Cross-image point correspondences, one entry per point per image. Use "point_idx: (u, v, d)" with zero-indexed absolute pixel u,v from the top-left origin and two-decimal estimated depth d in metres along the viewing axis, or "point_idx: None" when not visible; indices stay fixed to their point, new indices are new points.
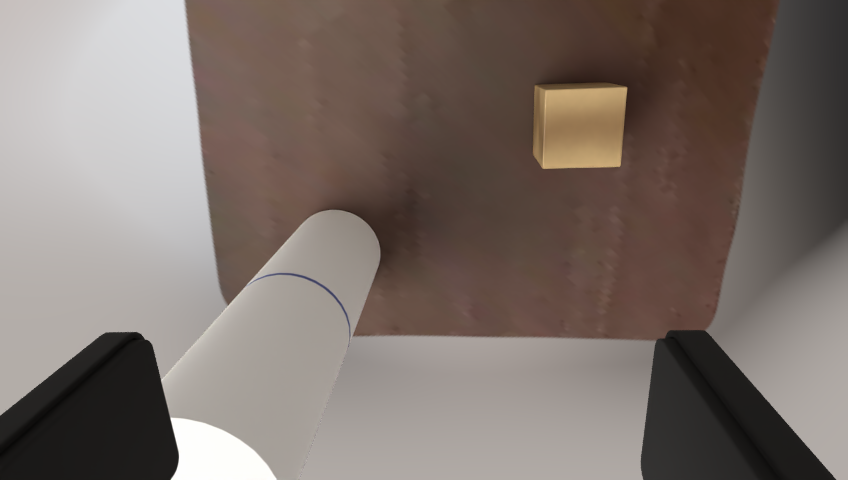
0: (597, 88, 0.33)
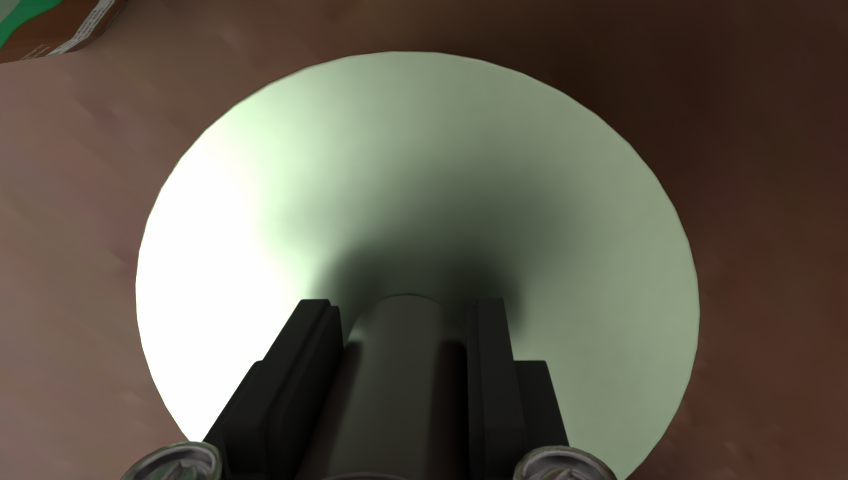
0: None
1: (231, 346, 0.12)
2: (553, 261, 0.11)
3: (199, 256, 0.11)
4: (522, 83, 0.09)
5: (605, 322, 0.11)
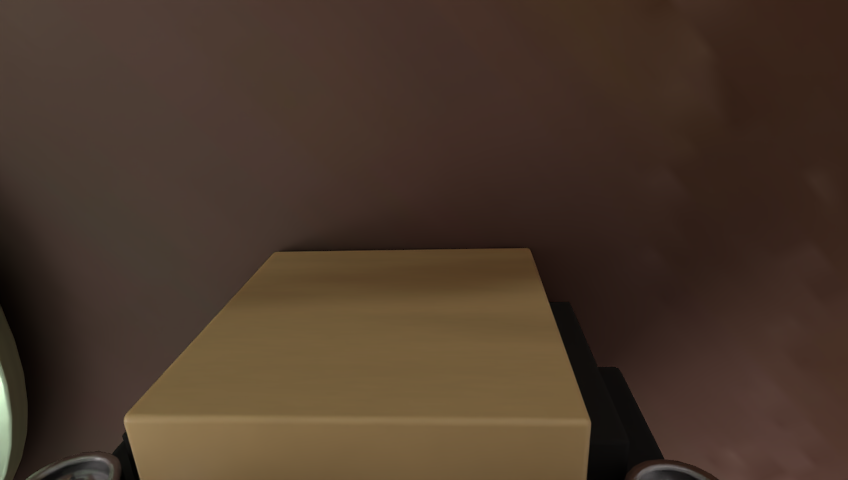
0: (416, 417, 0.06)
1: None
2: None
3: None
4: None
5: None
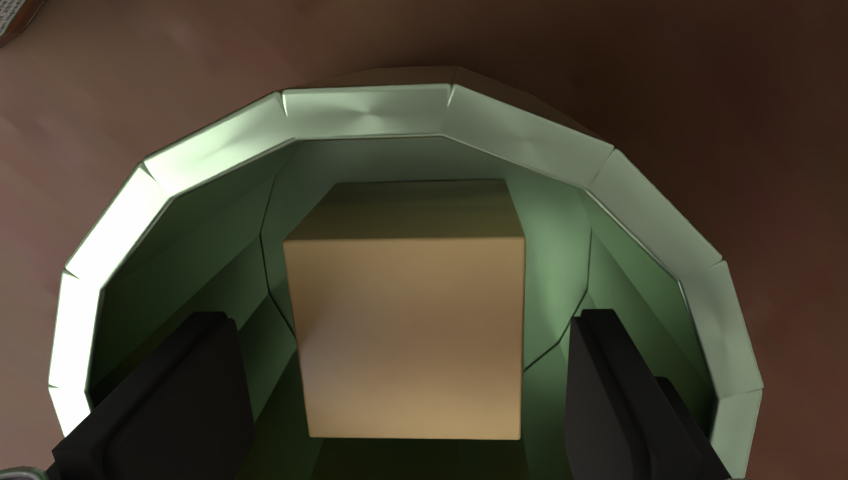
0: (437, 238, 0.11)
1: None
2: None
3: None
4: None
5: None
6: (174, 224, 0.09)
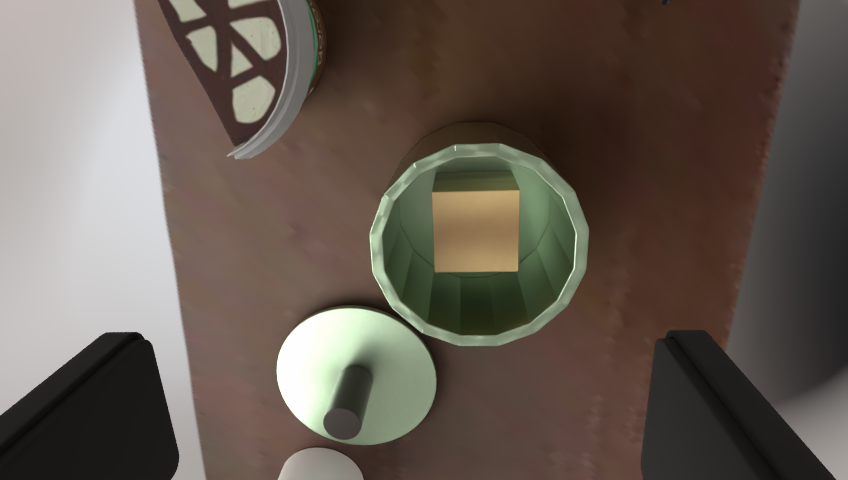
0: (488, 190, 0.30)
1: (304, 379, 0.40)
2: (394, 357, 0.39)
3: (296, 355, 0.39)
4: (381, 315, 0.38)
5: (410, 373, 0.39)
6: None
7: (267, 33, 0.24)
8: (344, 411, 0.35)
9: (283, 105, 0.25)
